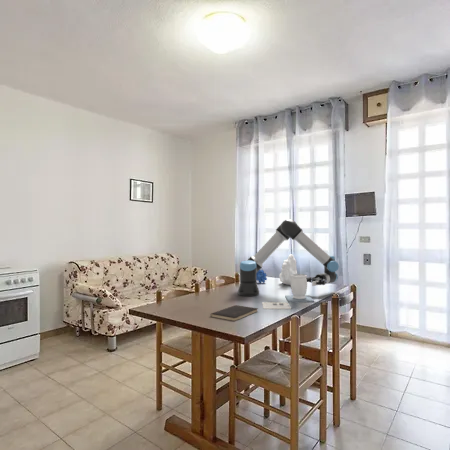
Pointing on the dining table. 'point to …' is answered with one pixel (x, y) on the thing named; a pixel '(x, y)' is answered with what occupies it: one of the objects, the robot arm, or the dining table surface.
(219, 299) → the dining table surface
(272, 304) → the tile
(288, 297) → the mat
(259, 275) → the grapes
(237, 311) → the hardcover book
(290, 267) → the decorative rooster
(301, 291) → the jar
